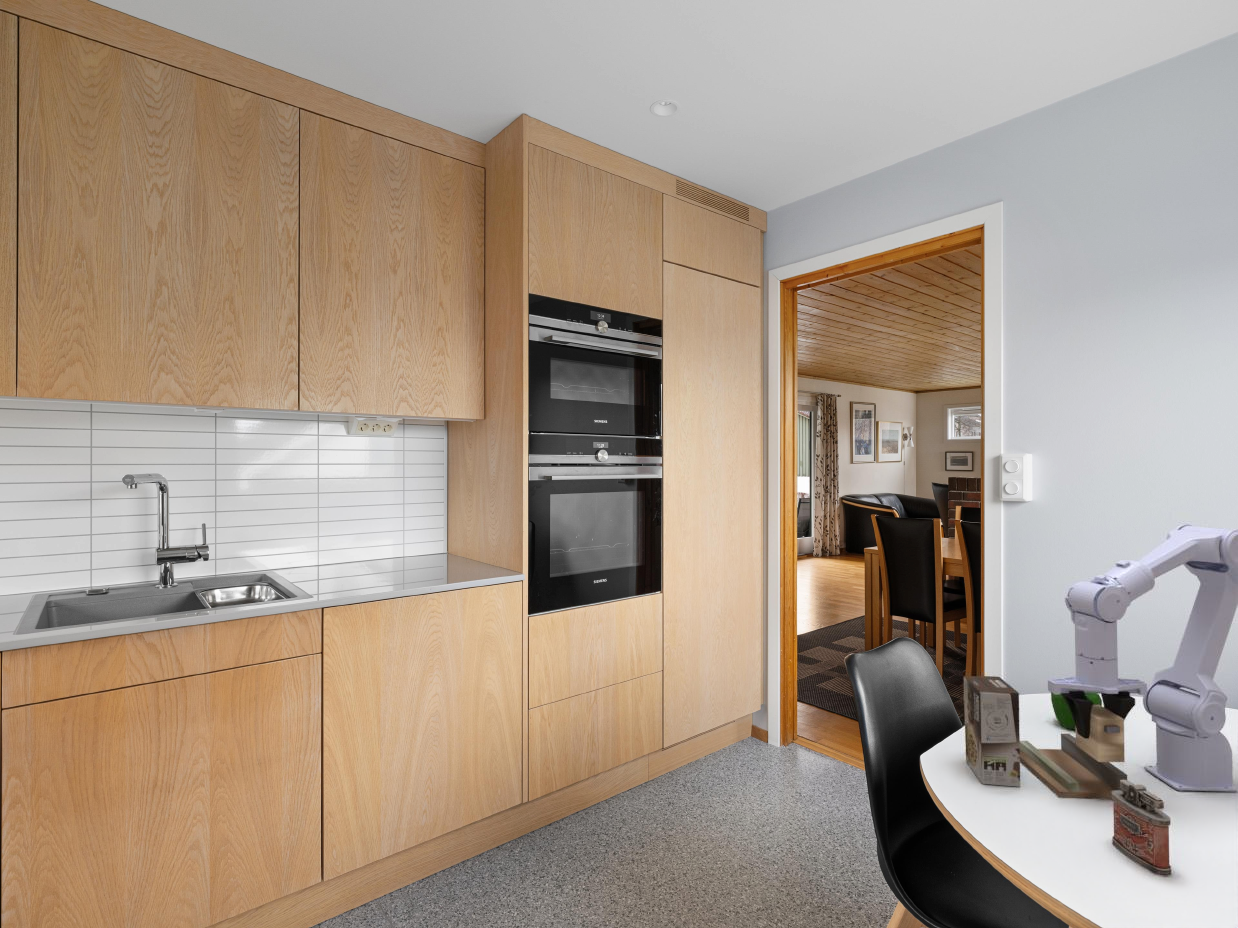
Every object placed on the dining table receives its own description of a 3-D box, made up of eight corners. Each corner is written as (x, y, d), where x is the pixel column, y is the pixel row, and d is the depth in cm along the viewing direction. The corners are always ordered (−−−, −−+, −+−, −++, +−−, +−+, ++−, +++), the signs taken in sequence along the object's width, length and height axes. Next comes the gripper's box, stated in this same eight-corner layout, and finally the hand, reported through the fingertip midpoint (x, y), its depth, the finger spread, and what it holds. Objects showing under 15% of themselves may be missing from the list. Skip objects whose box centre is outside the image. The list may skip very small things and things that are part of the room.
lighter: (1105, 841, 95) (1104, 773, 95) (1127, 840, 95) (1126, 772, 95) (1155, 876, 87) (1154, 802, 87) (1179, 874, 87) (1177, 800, 87)
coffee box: (1022, 787, 111) (1020, 693, 111) (981, 784, 112) (979, 691, 112) (1002, 762, 120) (1000, 675, 120) (964, 760, 121) (962, 674, 121)
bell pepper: (1044, 718, 139) (1043, 671, 139) (1086, 719, 138) (1085, 672, 138) (1065, 735, 131) (1064, 685, 131) (1110, 736, 130) (1109, 686, 129)
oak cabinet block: (1100, 745, 111) (1099, 704, 111) (1127, 763, 105) (1126, 720, 105) (1075, 745, 112) (1075, 704, 111) (1100, 763, 105) (1100, 720, 105)
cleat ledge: (1078, 754, 122) (1077, 733, 122) (1137, 799, 106) (1137, 775, 106) (1010, 753, 123) (1010, 732, 123) (1059, 797, 107) (1059, 773, 107)
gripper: (1064, 662, 105) (1066, 746, 105) (1160, 662, 104) (1161, 747, 104) (1040, 649, 112) (1041, 728, 112) (1129, 649, 111) (1130, 728, 111)
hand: (1097, 736), depth 109 cm, fingers closed on oak cabinet block, 4 cm apart
